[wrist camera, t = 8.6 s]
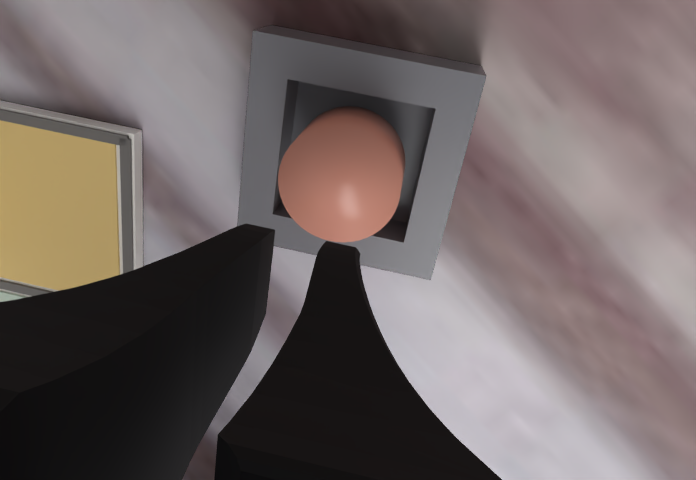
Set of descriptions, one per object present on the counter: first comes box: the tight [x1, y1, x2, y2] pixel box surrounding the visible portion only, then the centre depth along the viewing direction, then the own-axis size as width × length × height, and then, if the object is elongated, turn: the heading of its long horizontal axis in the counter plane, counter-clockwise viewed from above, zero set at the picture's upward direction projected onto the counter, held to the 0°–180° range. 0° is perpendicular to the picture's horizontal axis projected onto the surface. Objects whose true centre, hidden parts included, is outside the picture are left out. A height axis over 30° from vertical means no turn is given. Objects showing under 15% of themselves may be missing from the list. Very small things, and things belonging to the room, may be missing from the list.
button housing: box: [237, 25, 486, 280], centre depth 19 cm, size 7×7×2 cm
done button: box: [278, 106, 405, 242], centre depth 17 cm, size 4×4×2 cm
